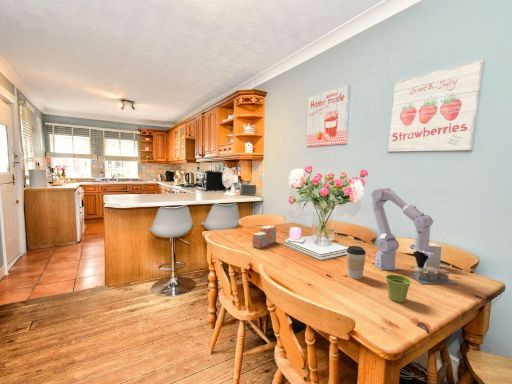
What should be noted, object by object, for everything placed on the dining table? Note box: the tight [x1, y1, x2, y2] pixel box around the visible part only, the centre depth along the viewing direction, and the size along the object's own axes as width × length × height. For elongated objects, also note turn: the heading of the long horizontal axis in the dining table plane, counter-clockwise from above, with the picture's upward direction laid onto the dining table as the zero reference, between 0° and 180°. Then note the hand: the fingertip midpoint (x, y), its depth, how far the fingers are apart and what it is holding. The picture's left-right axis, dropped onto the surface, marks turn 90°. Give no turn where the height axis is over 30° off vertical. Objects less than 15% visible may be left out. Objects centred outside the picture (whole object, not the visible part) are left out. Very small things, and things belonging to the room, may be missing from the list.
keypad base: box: [405, 272, 458, 285], centre depth 126 cm, size 17×12×2 cm
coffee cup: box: [346, 245, 367, 280], centre depth 127 cm, size 9×9×15 cm
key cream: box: [424, 267, 438, 275], centre depth 125 cm, size 4×4×4 cm
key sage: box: [413, 266, 428, 275], centre depth 125 cm, size 4×4×4 cm
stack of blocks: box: [252, 224, 277, 249], centre depth 183 cm, size 21×6×12 cm, turn 144°
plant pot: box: [385, 274, 412, 303], centre depth 105 cm, size 9×9×9 cm
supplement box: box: [423, 242, 442, 269], centre depth 142 cm, size 7×7×13 cm
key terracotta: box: [437, 268, 450, 275], centre depth 126 cm, size 4×4×4 cm
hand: (420, 267), depth 125 cm, fingers closed
